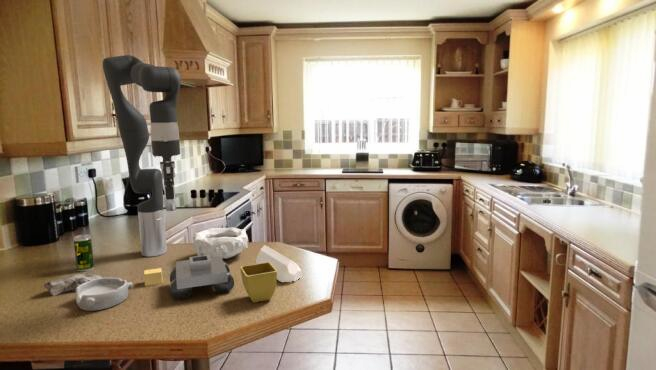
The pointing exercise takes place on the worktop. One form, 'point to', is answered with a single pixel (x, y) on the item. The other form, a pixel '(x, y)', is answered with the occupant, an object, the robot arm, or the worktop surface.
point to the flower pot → (259, 281)
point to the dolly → (200, 276)
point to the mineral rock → (69, 283)
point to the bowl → (220, 242)
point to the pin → (170, 201)
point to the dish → (102, 293)
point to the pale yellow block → (153, 277)
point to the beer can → (83, 252)
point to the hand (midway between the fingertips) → (169, 197)
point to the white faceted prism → (280, 264)
